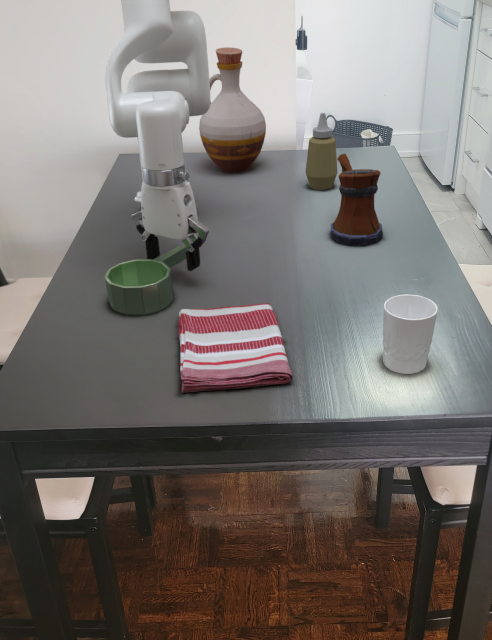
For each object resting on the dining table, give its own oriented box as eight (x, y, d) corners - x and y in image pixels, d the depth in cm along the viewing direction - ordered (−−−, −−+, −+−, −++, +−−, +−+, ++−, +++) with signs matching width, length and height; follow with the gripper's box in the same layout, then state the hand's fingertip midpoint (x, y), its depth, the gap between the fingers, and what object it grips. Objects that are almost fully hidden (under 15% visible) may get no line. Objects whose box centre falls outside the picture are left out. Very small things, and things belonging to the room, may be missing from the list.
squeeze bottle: (342, 184, 177) (345, 111, 167) (327, 194, 171) (330, 119, 161) (314, 179, 181) (316, 107, 171) (299, 188, 175) (300, 115, 165)
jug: (185, 167, 192) (174, 49, 175) (233, 153, 202) (228, 40, 185) (231, 183, 180) (224, 58, 163) (280, 167, 190) (279, 48, 173)
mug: (316, 218, 159) (317, 152, 150) (364, 213, 160) (367, 148, 152) (337, 249, 144) (340, 178, 136) (390, 243, 146) (396, 173, 137)
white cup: (374, 350, 111) (378, 295, 106) (422, 347, 112) (429, 292, 106) (385, 378, 105) (391, 321, 99) (436, 374, 105) (444, 317, 100)
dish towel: (181, 395, 103) (179, 380, 101) (178, 318, 122) (177, 304, 121) (293, 385, 104) (293, 370, 103) (273, 310, 123) (273, 297, 122)
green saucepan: (145, 321, 121) (142, 293, 118) (97, 306, 126) (92, 278, 123) (209, 277, 135) (207, 251, 132) (163, 265, 140) (160, 239, 137)
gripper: (215, 175, 122) (221, 265, 132) (140, 163, 130) (150, 248, 139) (190, 188, 117) (198, 280, 126) (113, 174, 125) (126, 261, 134)
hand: (173, 263), depth 133 cm, fingers open, 9 cm apart
